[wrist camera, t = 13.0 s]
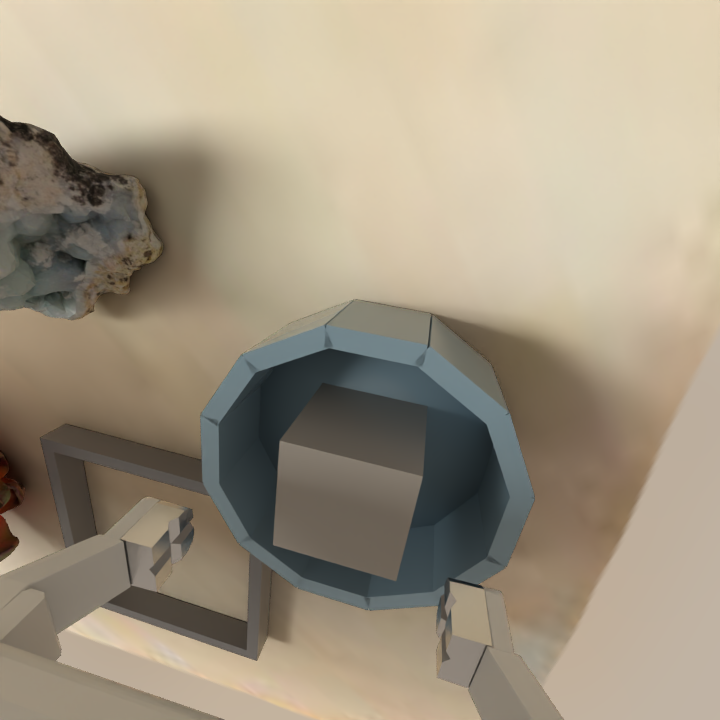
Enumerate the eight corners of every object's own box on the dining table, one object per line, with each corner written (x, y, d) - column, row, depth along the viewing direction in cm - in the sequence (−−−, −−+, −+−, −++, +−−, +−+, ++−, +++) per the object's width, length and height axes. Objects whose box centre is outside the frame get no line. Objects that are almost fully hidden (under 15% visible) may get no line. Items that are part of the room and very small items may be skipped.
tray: (96, 579, 28) (77, 599, 27) (65, 423, 23) (39, 437, 21) (267, 636, 26) (257, 660, 25) (277, 480, 21) (265, 500, 19)
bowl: (249, 496, 22) (205, 559, 18) (256, 280, 17) (196, 299, 13) (467, 556, 20) (474, 643, 16) (545, 334, 15) (585, 376, 11)
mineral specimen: (160, 268, 23) (99, 70, 17) (190, 328, 18) (120, 76, 12) (-42, 302, 19) (-222, 50, 13) (-77, 395, 14) (-411, 47, 7)
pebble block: (313, 467, 19) (272, 545, 14) (322, 382, 17) (279, 440, 12) (407, 491, 18) (396, 581, 14) (427, 405, 16) (422, 476, 12)
